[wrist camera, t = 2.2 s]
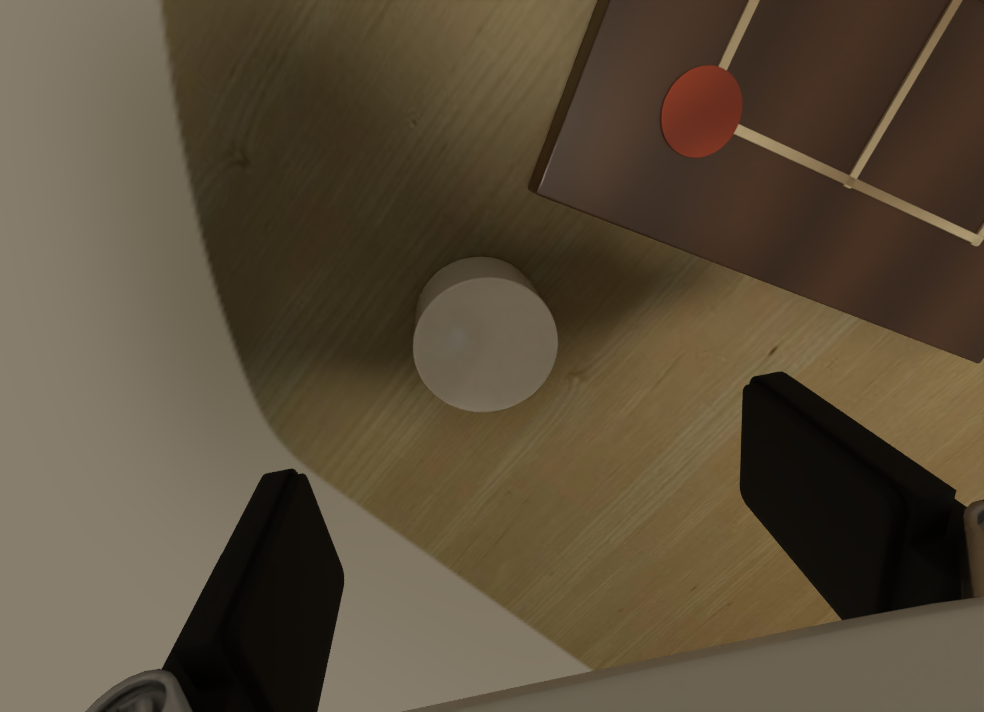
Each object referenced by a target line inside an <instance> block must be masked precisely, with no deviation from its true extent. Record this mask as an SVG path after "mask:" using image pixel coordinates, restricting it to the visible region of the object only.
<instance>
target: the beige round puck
mask: <svg viewBox="0 0 984 712" xmlns="http://www.w3.org/2000/svg"><path fill="white" fill-rule="evenodd" d="M557 351H558V333H557V328H556V324H555V321H554V318H553V316H552V314H551V312H550V310H549V308H548V307H547V305H546V304H545V302H544V301H543V299H542V298H541V296H540V295H539V293H538V292H537V290H536V289H535V287H534V286H533V284H532V283H531V282H530V280H529V279H528V278H527V277H526V276H525V275H524V273H522V272H521V271H520V270H519V269H517V268H516V267H514V266H513V265H511V264H509V263H507V262H505V261H502V260H499V259H495V258H490V257H470V258H465V259H461V260H458V261H455V262H453V263H450V264H449V265H447V266H445V267H443V268H442V269H441V270H439V271H438V272H437V273H436V274H435V275H434V276H433V277H432V278H431V279H430V280H429V281H428V282H427V284H426V285H425V287H424V288H423V290H422V292H421V294H420V296H419V299H418V302H417V306H416V312H415V323H414V335H413V357H414V362H415V365H416V368H417V371H418V373H419V375H420V377H421V379H422V381H423V382H424V383H425V385H426V386H427V387H428V388H429V390H430V391H431V392H432V393H433V394H435V395H436V396H437V397H438V398H439V399H441V400H443V401H444V402H446V403H447V404H450V405H452V406H454V407H456V408H459V409H462V410H467V411H472V412H493V411H499V410H503V409H507V408H509V407H512V406H514V405H517V404H518V403H520V402H522V401H524V400H525V399H527V398H528V397H530V396H531V395H532V394H533V393H535V392H536V391H537V390H538V389H539V388H540V387H541V385H542V384H543V383H544V382H545V380H546V379H547V377H548V376H549V374H550V372H551V370H552V368H553V365H554V363H555V360H556V356H557Z"/></svg>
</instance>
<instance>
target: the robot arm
mask: <svg viewBox="0 0 984 712" xmlns="http://www.w3.org/2000/svg"><path fill="white" fill-rule="evenodd" d="M740 491H741V495H742V498H743V500H744V502H745V503H746V505H747V506H748V507H749V508H750V510H751V511H752V512H753V513H754V515H755V516H756V517H757V518H758V519H759V521H760V522H761V523H762V524H763V525H764V527H765V528H766V529H767V530H768V531H769V533H770V534H771V535H772V536H773V537H774V539H775V540H776V541H777V542H778V543H779V545H780V546H781V547H782V548H783V549H784V551H785V552H786V553H787V554H788V555H789V557H790V558H791V559H792V560H793V561H794V563H795V564H796V565H797V566H798V567H799V569H800V570H801V571H802V572H803V573H804V575H805V576H806V577H807V578H808V580H809V581H810V582H811V583H812V584H813V586H814V587H815V588H816V589H817V590H818V592H819V593H820V594H821V595H822V596H823V598H824V599H825V600H826V601H827V602H828V604H829V605H830V606H831V607H832V608H833V610H834V611H835V612H836V613H837V614H838V616H839V617H840V618H841V619H842V620H841V621H836V622H831V623H826V624H821V625H816V626H811V627H806V628H801V629H796V630H791V631H786V632H782V633H777V634H772V635H767V636H762V637H757V638H752V639H747V640H742V641H737V642H732V643H727V644H722V645H717V646H712V647H707V648H702V649H697V650H693V651H688V652H683V653H678V654H673V655H668V656H664V657H659V658H654V659H649V660H644V661H639V662H635V663H630V664H625V665H620V666H615V667H610V668H606V669H601V670H596V671H591V672H587V673H582V674H577V675H573V676H567V677H563V678H558V679H553V680H549V681H544V682H539V683H534V684H529V685H525V686H520V687H515V688H510V689H506V690H501V691H497V692H492V693H487V694H482V695H478V696H473V697H468V698H464V699H459V700H454V701H450V702H445V703H441V704H436V705H431V706H427V707H422V708H417V709H412V710H408V711H403V712H984V499H983V500H980V501H976V502H973V503H971V504H970V505H969V506H968V507H966V506H964V505H963V504H961V503H960V502H959V501H957V500H956V499H954V498H955V494H956V490H955V489H954V488H952V487H951V486H949V485H948V484H946V483H945V482H943V481H942V480H940V479H939V478H938V477H936V476H935V475H933V474H932V473H930V472H929V471H927V470H926V469H924V468H923V467H922V466H920V465H919V464H917V463H916V462H914V461H913V460H911V459H910V458H908V457H907V456H906V455H904V454H903V453H901V452H900V451H898V450H897V449H895V448H894V447H892V446H891V445H890V444H888V443H887V442H885V441H884V440H882V439H881V438H879V437H878V436H876V435H875V434H874V433H872V432H871V431H869V430H868V429H866V428H865V427H863V426H862V425H860V424H859V423H858V422H856V421H855V420H853V419H852V418H850V417H849V416H847V415H846V414H844V413H843V412H842V411H840V410H839V409H837V408H836V407H834V406H833V405H831V404H830V403H828V402H827V401H826V400H824V399H823V398H821V397H820V396H818V395H817V394H815V393H814V392H812V391H811V390H810V389H808V388H807V387H805V386H804V385H802V384H801V383H799V382H798V381H796V380H795V379H794V378H792V377H791V376H789V375H788V374H786V373H784V372H775V373H770V374H765V375H760V376H755V377H753V378H752V379H751V381H750V384H749V385H746V386H745V387H744V389H743V400H742V432H741V464H740ZM343 587H344V572H343V568H342V565H341V563H340V560H339V557H338V555H337V552H336V550H335V547H334V545H333V542H332V540H331V537H330V534H329V532H328V529H327V527H326V524H325V522H324V519H323V516H322V514H321V511H320V509H319V506H318V504H317V501H316V498H315V496H314V493H313V491H312V488H311V486H310V483H309V480H308V478H307V476H306V475H305V474H303V473H302V474H298V473H297V472H296V470H294V469H287V470H282V471H277V472H272V473H267V474H264V475H263V476H262V478H261V480H260V482H259V483H258V485H257V487H256V489H255V491H254V493H253V495H252V497H251V499H250V501H249V503H248V505H247V507H246V509H245V511H244V512H243V514H242V516H241V518H240V520H239V522H238V524H237V526H236V528H235V530H234V532H233V534H232V536H231V538H230V539H229V542H228V543H227V545H226V547H225V549H224V551H223V553H222V555H221V556H220V558H219V560H218V562H217V564H216V566H215V567H214V569H213V572H212V574H211V575H210V577H209V579H208V581H207V583H206V585H205V587H204V589H203V591H202V592H201V594H200V596H199V598H198V600H197V602H196V604H195V606H194V608H193V610H192V612H191V614H190V616H189V618H188V620H187V622H186V623H185V625H184V627H183V629H182V631H181V633H180V635H179V637H178V639H177V641H176V643H175V644H174V647H173V648H172V650H171V652H170V654H169V656H168V658H167V660H166V662H165V664H164V666H163V668H162V670H161V669H157V670H149V671H144V672H141V673H139V674H136V675H134V676H131V677H129V678H127V679H125V680H124V681H122V682H120V683H119V684H117V685H115V686H114V687H112V688H111V689H110V690H108V691H107V692H106V693H105V694H104V695H102V696H101V697H100V698H98V699H97V700H96V701H95V702H94V703H93V705H91V706H90V707H89V708H88V710H87V711H86V712H317V711H318V706H319V701H320V696H321V692H322V687H323V682H324V677H325V673H326V668H327V663H328V659H329V654H330V649H331V644H332V639H333V634H334V630H335V625H336V621H337V616H338V611H339V606H340V602H341V597H342V592H343Z"/></svg>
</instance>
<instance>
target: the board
mask: <svg viewBox="0 0 984 712" xmlns="http://www.w3.org/2000/svg"><path fill="white" fill-rule="evenodd" d="M528 189H529V190H530V191H532V192H533V193H535V194H537V195H539V196H542V197H544V198H547V199H550V200H552V201H555V202H557V203H560V204H563V205H565V206H568V207H570V208H573V209H576V210H578V211H581V212H584V213H586V214H589V215H591V216H594V217H597V218H599V219H602V220H604V221H607V222H610V223H612V224H615V225H618V226H620V227H623V228H625V229H628V230H631V231H633V232H636V233H638V234H641V235H644V236H646V237H649V238H651V239H654V240H657V241H659V242H662V243H665V244H667V245H670V246H672V247H675V248H678V249H680V250H683V251H685V252H688V253H691V254H693V255H696V256H698V257H701V258H704V259H706V260H709V261H712V262H714V263H717V264H719V265H722V266H725V267H727V268H730V269H732V270H735V271H738V272H740V273H743V274H746V275H748V276H751V277H753V278H756V279H759V280H761V281H764V282H766V283H769V284H772V285H774V286H777V287H779V288H782V289H785V290H787V291H790V292H793V293H795V294H798V295H800V296H803V297H806V298H808V299H811V300H813V301H816V302H819V303H821V304H824V305H826V306H829V307H832V308H834V309H837V310H840V311H842V312H845V313H847V314H850V315H853V316H855V317H858V318H860V319H863V320H866V321H868V322H871V323H873V324H876V325H879V326H881V327H884V328H887V329H889V330H892V331H894V332H897V333H900V334H902V335H905V336H907V337H910V338H913V339H915V340H918V341H921V342H923V343H926V344H928V345H931V346H934V347H936V348H939V349H941V350H944V351H947V352H949V353H952V354H954V355H957V356H960V357H962V358H965V359H968V360H970V361H973V362H975V363H980V362H981V361H982V360H983V358H984V0H598V3H597V5H596V8H595V11H594V13H593V16H592V19H591V21H590V24H589V27H588V29H587V32H586V35H585V37H584V40H583V43H582V45H581V48H580V51H579V54H578V56H577V59H576V62H575V64H574V67H573V70H572V72H571V75H570V78H569V80H568V83H567V86H566V88H565V91H564V94H563V96H562V99H561V102H560V104H559V107H558V110H557V112H556V115H555V118H554V120H553V123H552V126H551V128H550V131H549V134H548V136H547V139H546V142H545V144H544V147H543V150H542V152H541V155H540V158H539V160H538V163H537V166H536V168H535V171H534V174H533V177H532V179H531V182H530V185H529V187H528Z"/></svg>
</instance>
